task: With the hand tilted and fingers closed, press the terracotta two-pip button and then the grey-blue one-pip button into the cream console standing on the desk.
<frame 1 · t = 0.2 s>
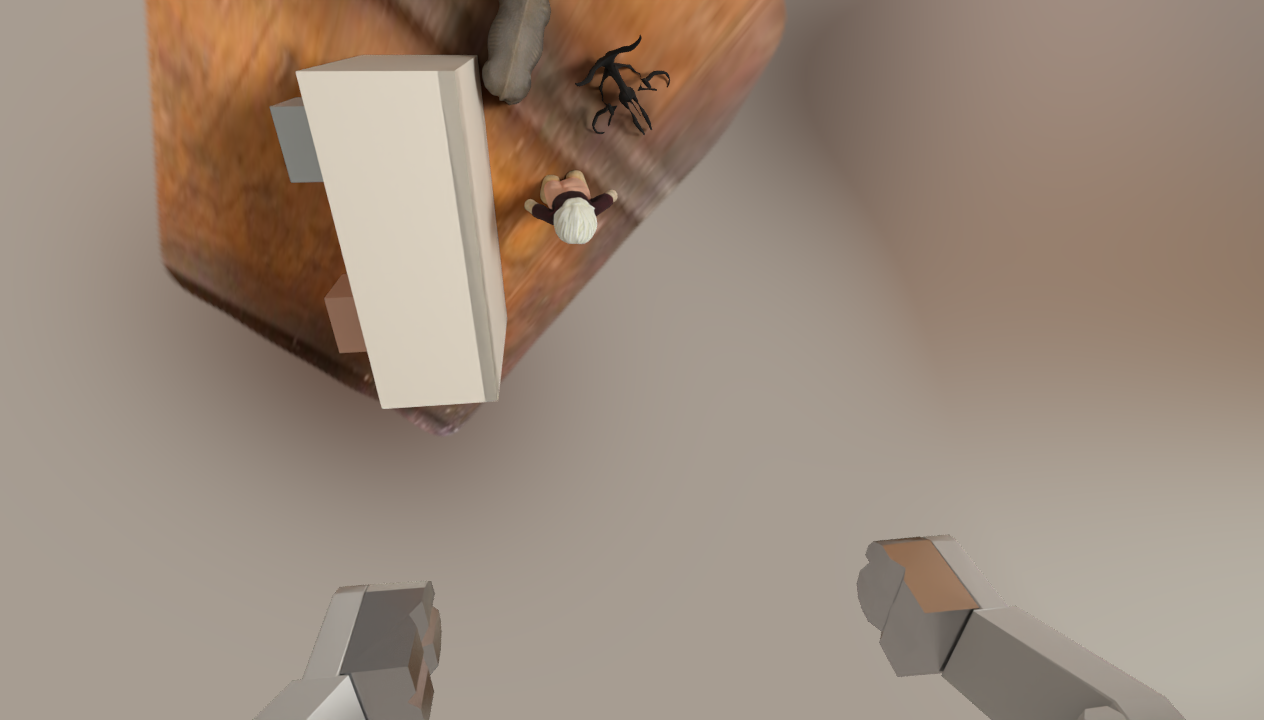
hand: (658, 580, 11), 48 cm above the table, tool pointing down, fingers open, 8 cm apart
rhino figurine: (524, 12, 47), on the table
button two: (390, 310, 50), point 7 cm above the table, slide at 0.0 cm
button one: (351, 138, 43), point 7 cm above the table, slide at 0.0 cm
creature: (624, 93, 51), on the table
console: (443, 202, 54), on the table
grandmother figurine: (569, 186, 55), on the table
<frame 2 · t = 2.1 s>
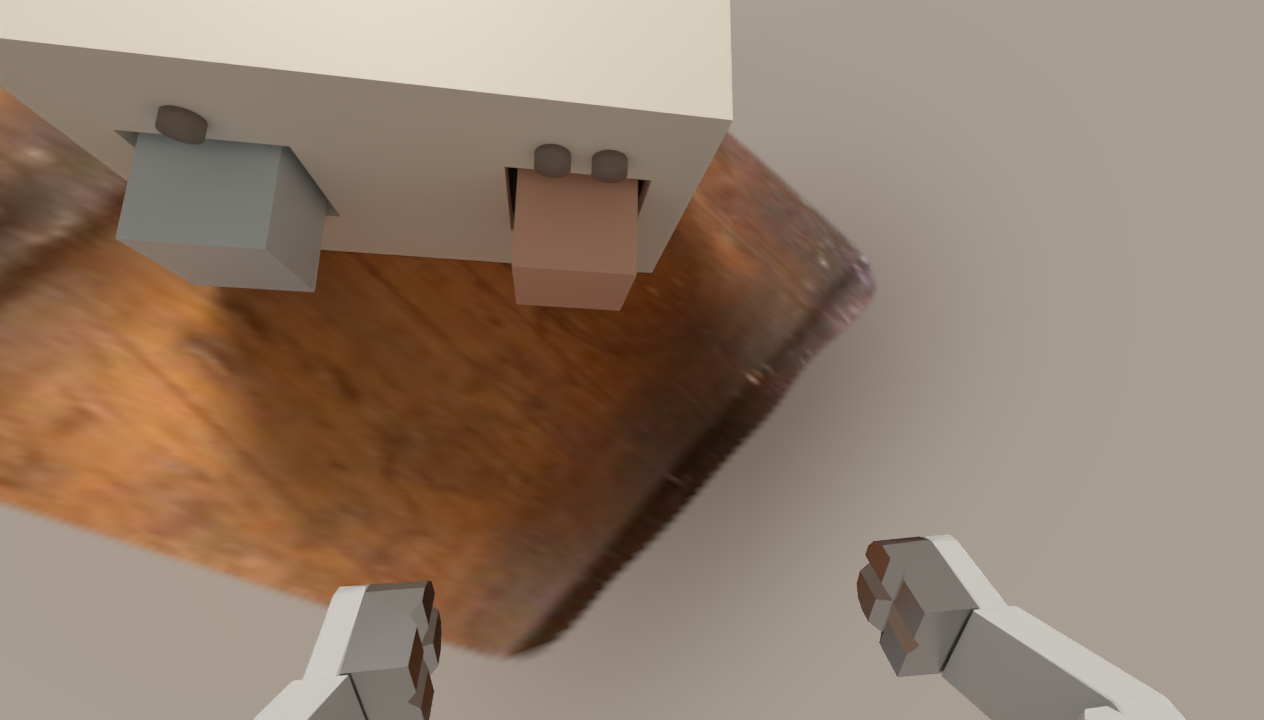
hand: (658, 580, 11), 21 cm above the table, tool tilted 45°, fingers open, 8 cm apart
button two: (574, 207, 27), point 8 cm above the table, slide at 0.0 cm
button one: (242, 179, 25), point 8 cm above the table, slide at 0.0 cm
console: (448, 185, 34), on the table
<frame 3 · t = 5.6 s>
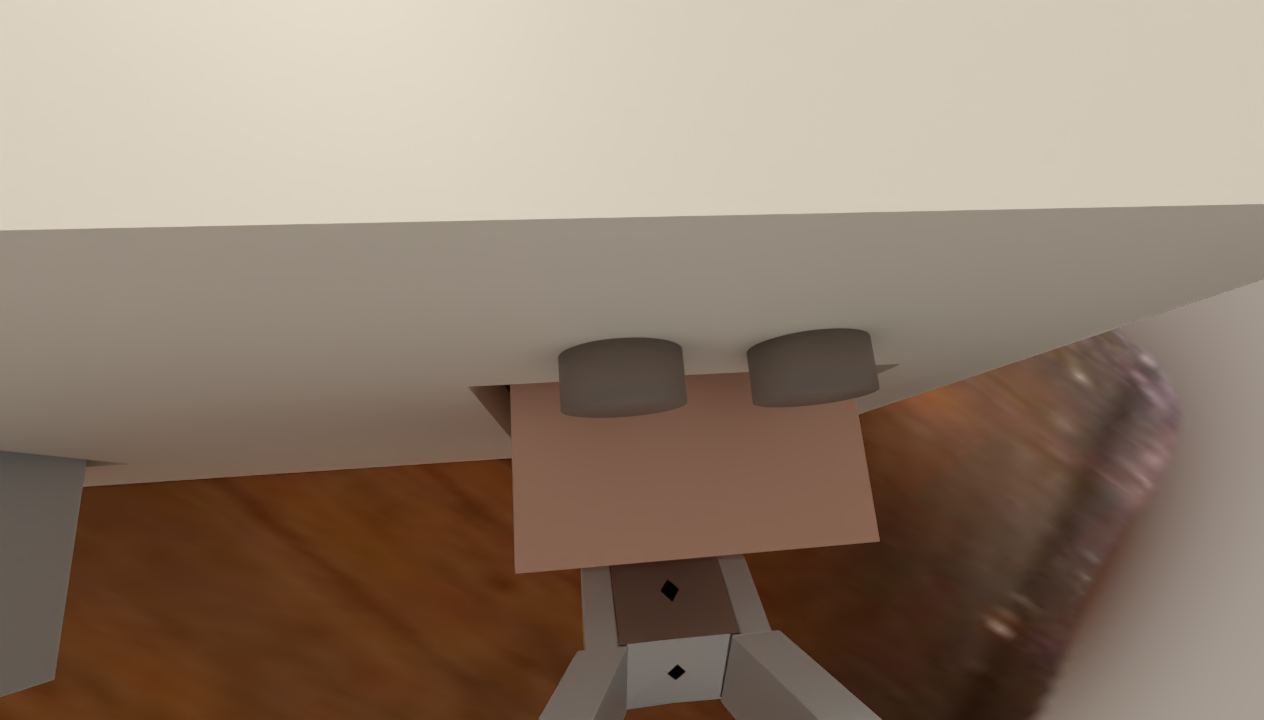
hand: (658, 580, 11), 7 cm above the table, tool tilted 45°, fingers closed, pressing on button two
button two: (653, 328, 11), point 7 cm above the table, slide at 1.6 cm, touching gripper
console: (392, 321, 18), on the table
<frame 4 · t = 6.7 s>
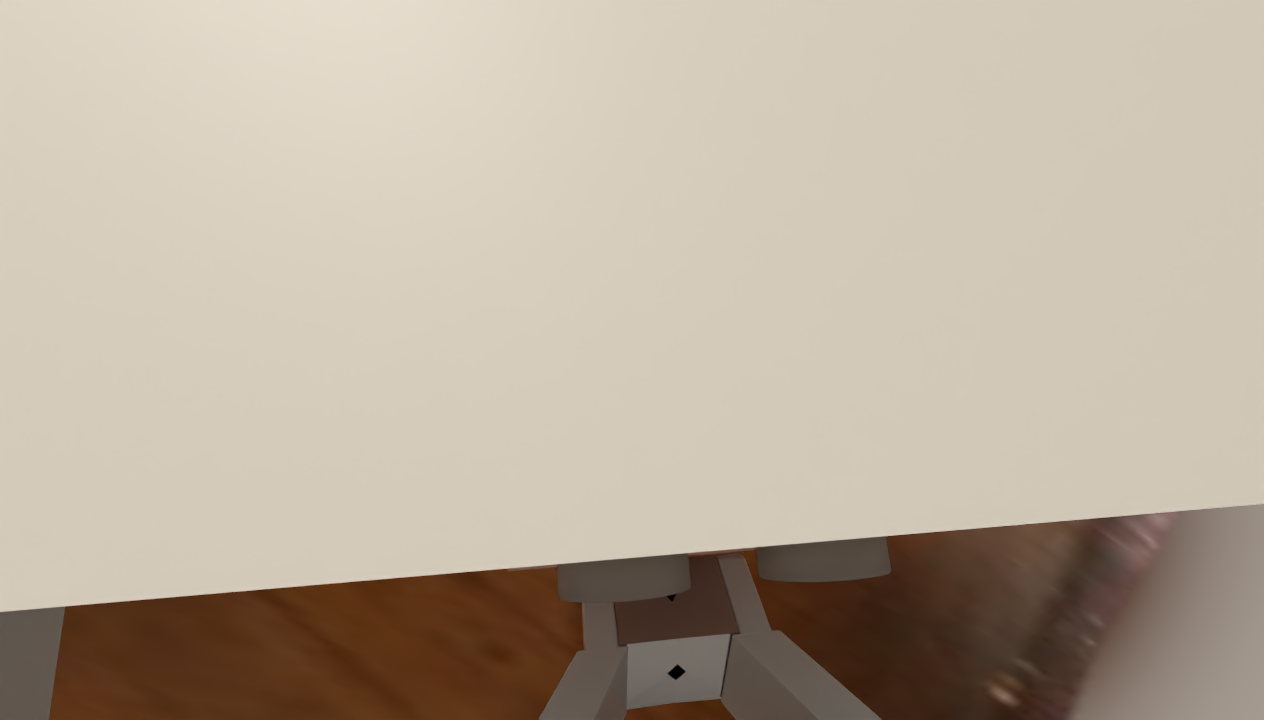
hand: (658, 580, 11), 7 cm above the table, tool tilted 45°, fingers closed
button two: (646, 330, 11), point 8 cm above the table, slide at 3.5 cm
console: (388, 381, 18), on the table
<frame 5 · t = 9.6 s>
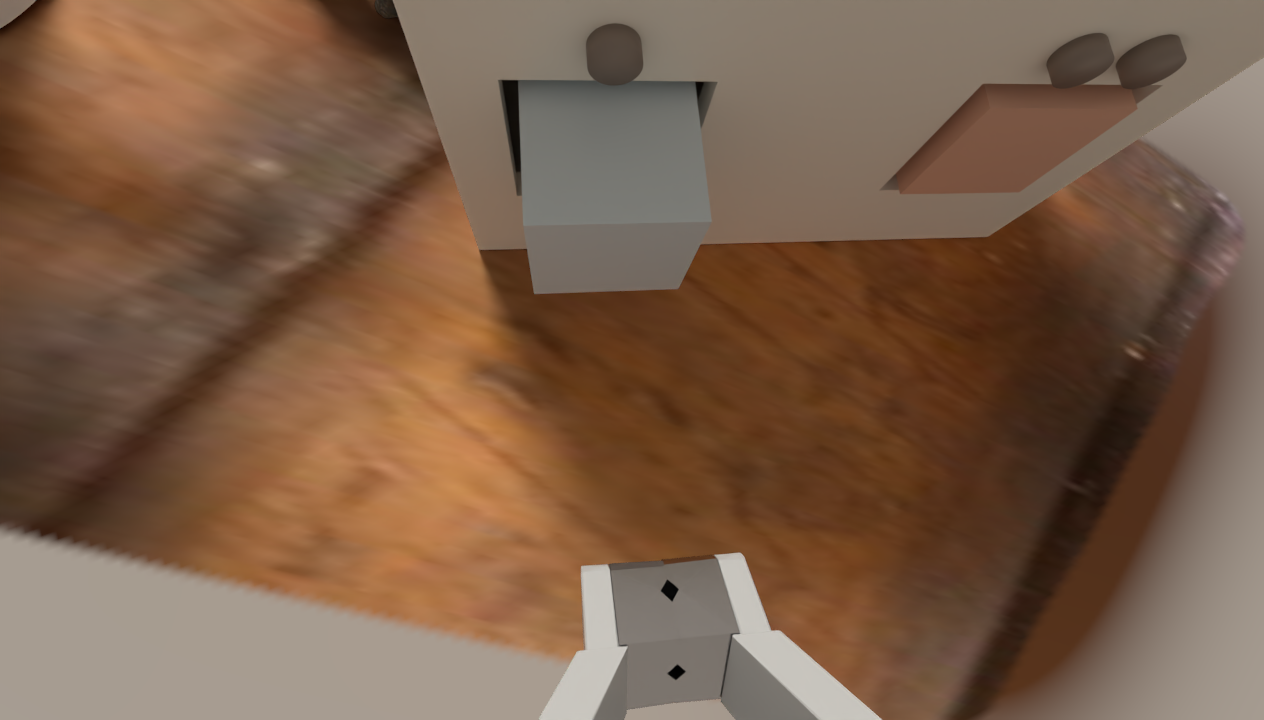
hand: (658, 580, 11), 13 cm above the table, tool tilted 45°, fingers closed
rhino figurine: (413, 0, 29), on the table
button two: (981, 58, 21), point 7 cm above the table, slide at 3.5 cm
button one: (603, 146, 19), point 8 cm above the table, slide at 0.0 cm
console: (735, 156, 28), on the table
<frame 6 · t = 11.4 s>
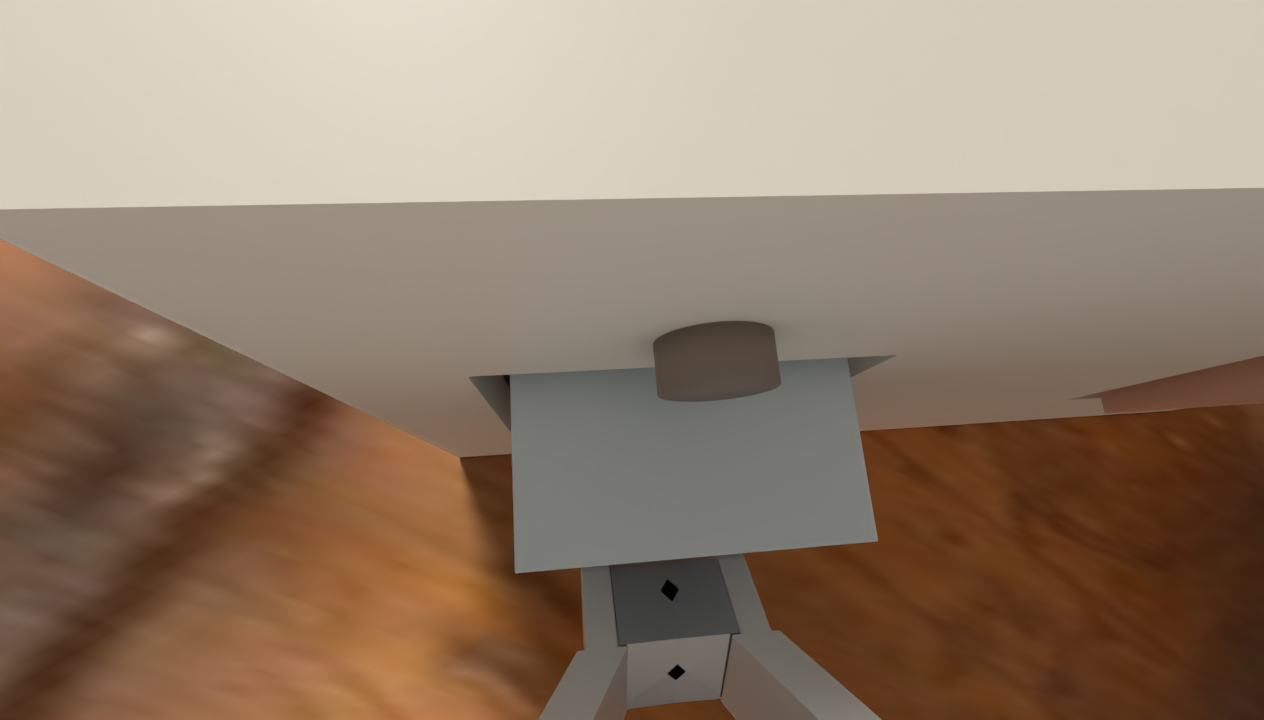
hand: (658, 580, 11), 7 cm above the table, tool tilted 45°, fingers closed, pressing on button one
button two: (1252, 216, 13), point 7 cm above the table, slide at 3.5 cm
button one: (653, 328, 11), point 7 cm above the table, slide at 1.5 cm, touching gripper
console: (819, 301, 20), on the table
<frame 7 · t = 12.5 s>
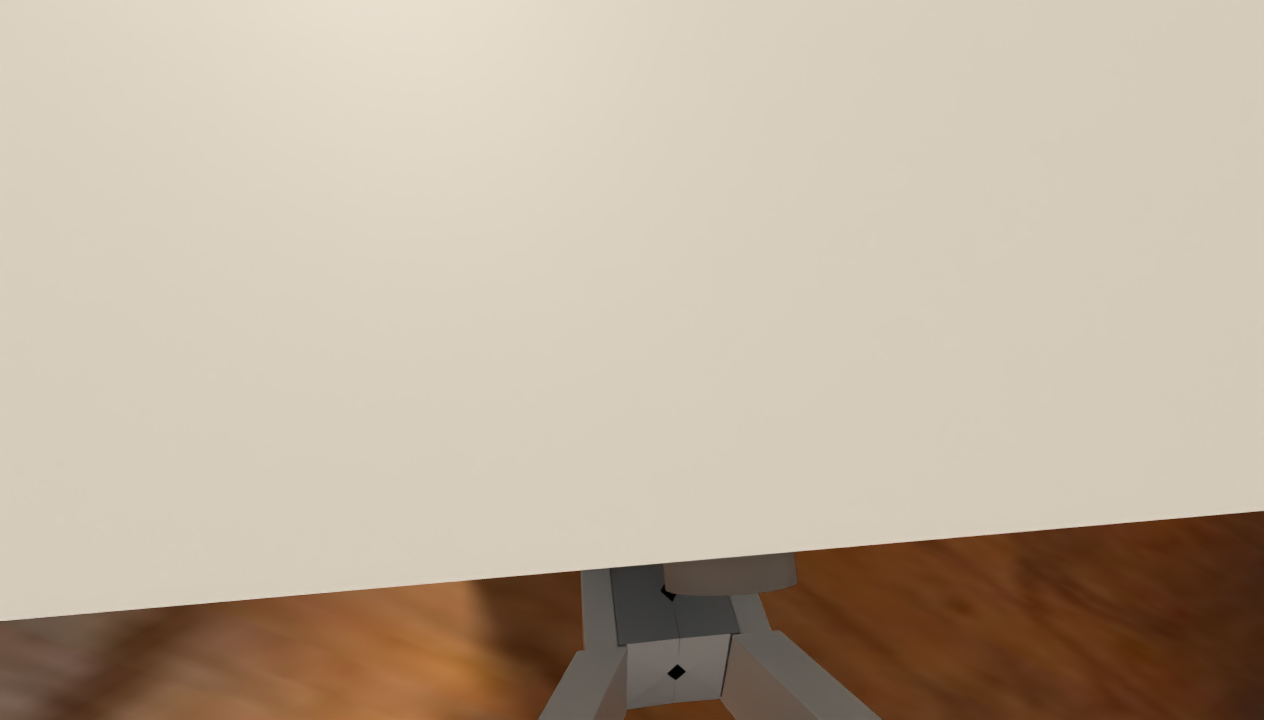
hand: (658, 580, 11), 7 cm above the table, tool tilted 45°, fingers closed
console: (824, 359, 20), on the table
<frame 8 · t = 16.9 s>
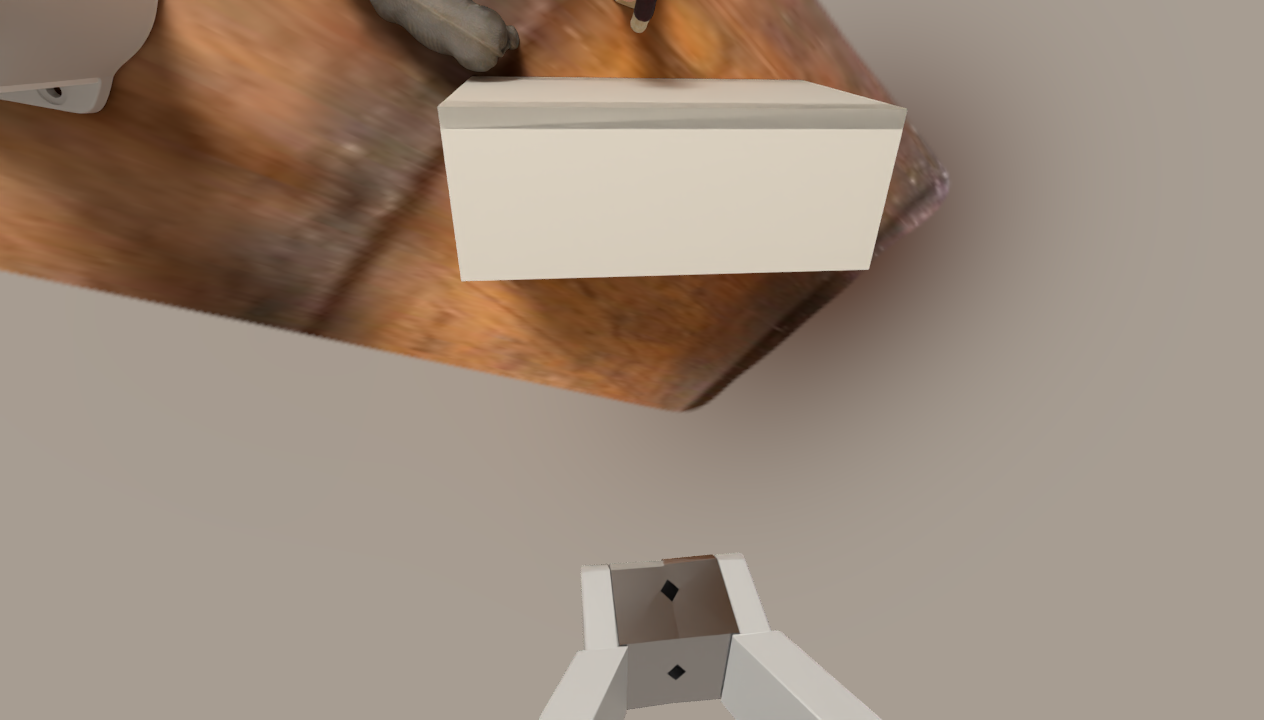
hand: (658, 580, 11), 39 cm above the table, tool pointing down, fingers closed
console: (640, 143, 45), on the table
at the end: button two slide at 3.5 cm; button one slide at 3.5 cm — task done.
